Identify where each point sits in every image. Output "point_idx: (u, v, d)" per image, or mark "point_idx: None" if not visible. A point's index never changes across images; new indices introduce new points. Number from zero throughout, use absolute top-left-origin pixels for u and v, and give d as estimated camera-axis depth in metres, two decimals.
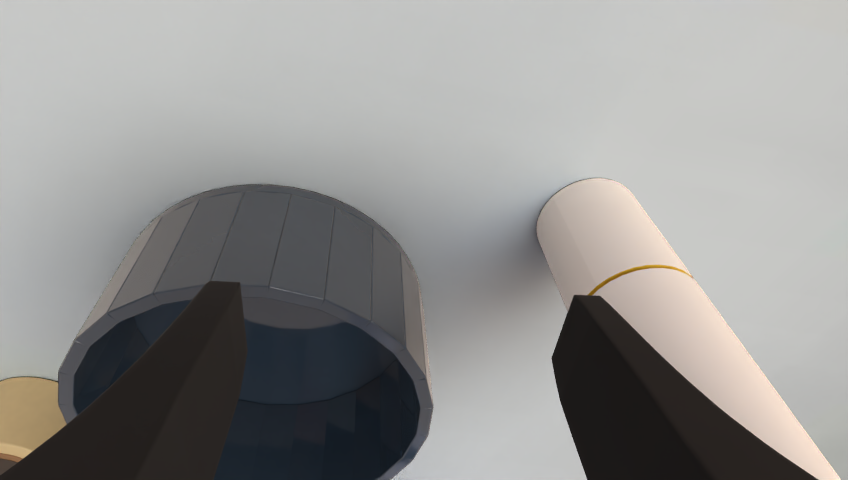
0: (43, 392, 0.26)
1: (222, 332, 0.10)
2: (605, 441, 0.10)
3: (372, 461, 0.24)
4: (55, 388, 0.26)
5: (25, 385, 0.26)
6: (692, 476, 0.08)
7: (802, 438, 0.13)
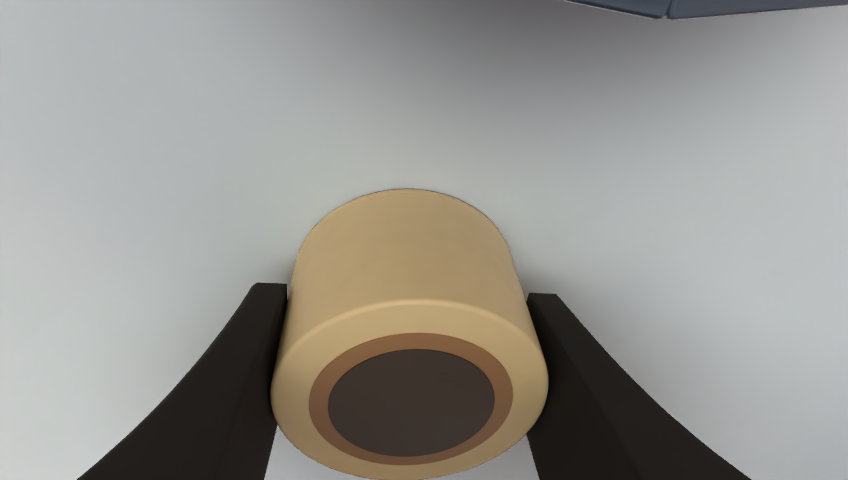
0: (349, 219, 0.11)
1: (274, 333, 0.10)
2: (554, 441, 0.10)
3: None
4: (365, 203, 0.11)
5: (317, 234, 0.12)
6: (626, 477, 0.08)
7: None
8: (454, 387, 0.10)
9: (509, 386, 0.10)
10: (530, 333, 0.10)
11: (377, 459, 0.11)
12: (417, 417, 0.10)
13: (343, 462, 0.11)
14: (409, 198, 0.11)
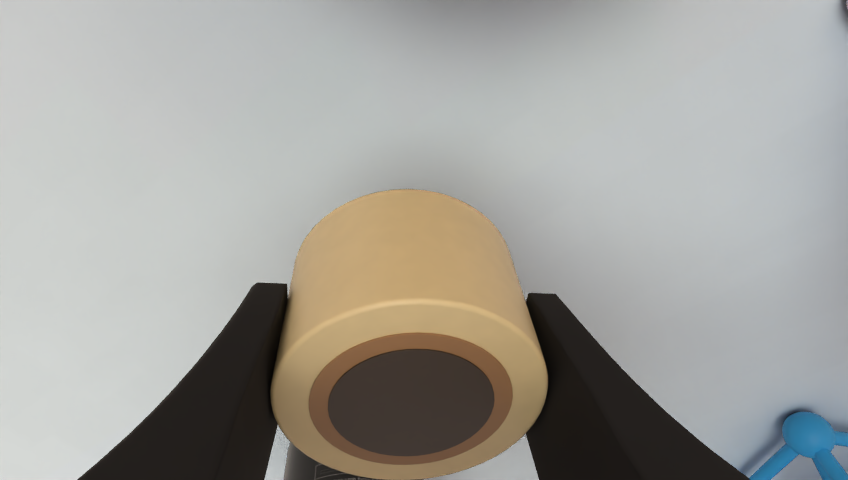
0: (348, 219, 0.11)
1: (274, 333, 0.10)
2: (554, 441, 0.10)
3: None
4: (365, 203, 0.11)
5: (317, 233, 0.12)
6: (626, 477, 0.08)
7: None
8: (453, 387, 0.10)
9: (509, 385, 0.10)
10: (530, 333, 0.10)
11: (377, 458, 0.11)
12: (417, 416, 0.10)
13: (343, 461, 0.11)
14: (409, 197, 0.11)
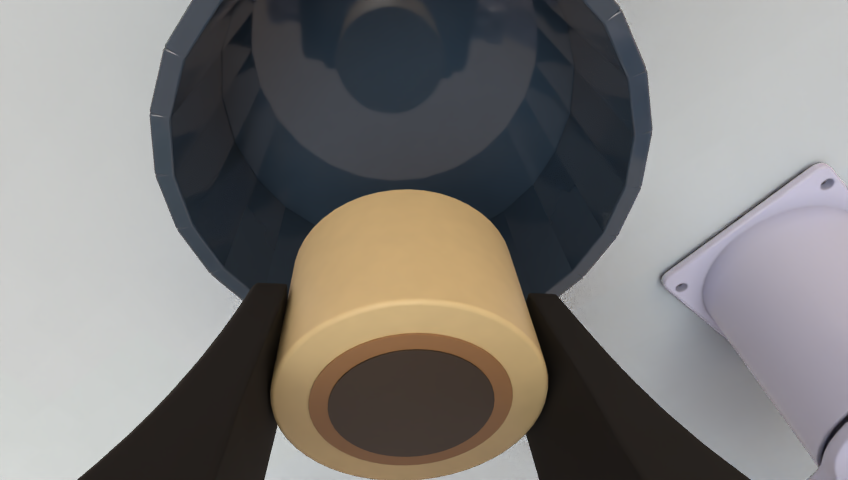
0: (348, 219, 0.11)
1: (274, 333, 0.10)
2: (554, 441, 0.10)
3: (619, 135, 0.15)
4: (364, 203, 0.11)
5: (317, 234, 0.12)
6: (626, 477, 0.08)
7: None
8: (453, 387, 0.10)
9: (508, 385, 0.10)
10: (530, 333, 0.10)
11: (377, 459, 0.11)
12: (417, 417, 0.10)
13: (343, 462, 0.11)
14: (408, 198, 0.11)
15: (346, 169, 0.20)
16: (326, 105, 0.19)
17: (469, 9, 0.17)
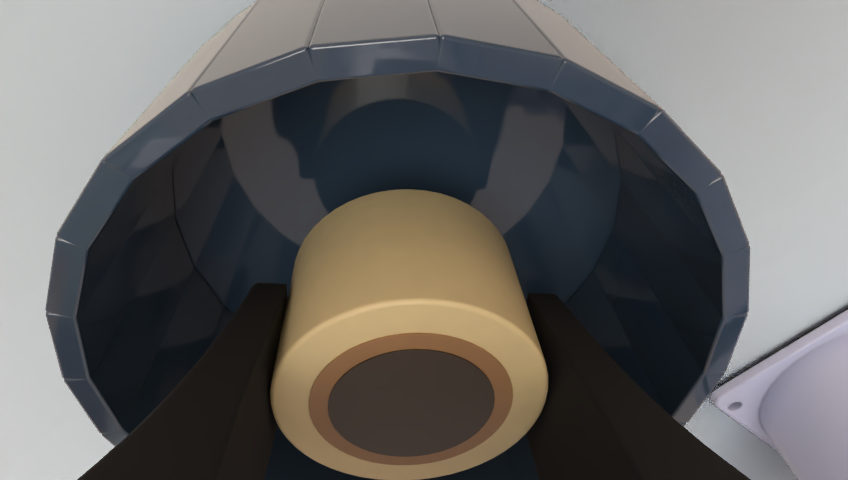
0: (348, 219, 0.11)
1: (274, 333, 0.10)
2: (554, 441, 0.10)
3: (695, 303, 0.11)
4: (364, 203, 0.11)
5: (317, 233, 0.12)
6: (626, 477, 0.08)
7: None
8: (453, 387, 0.10)
9: (509, 385, 0.10)
10: (530, 333, 0.10)
11: (377, 459, 0.11)
12: (417, 417, 0.10)
13: (343, 462, 0.11)
14: (409, 198, 0.11)
15: None
16: (308, 226, 0.15)
17: (490, 115, 0.13)
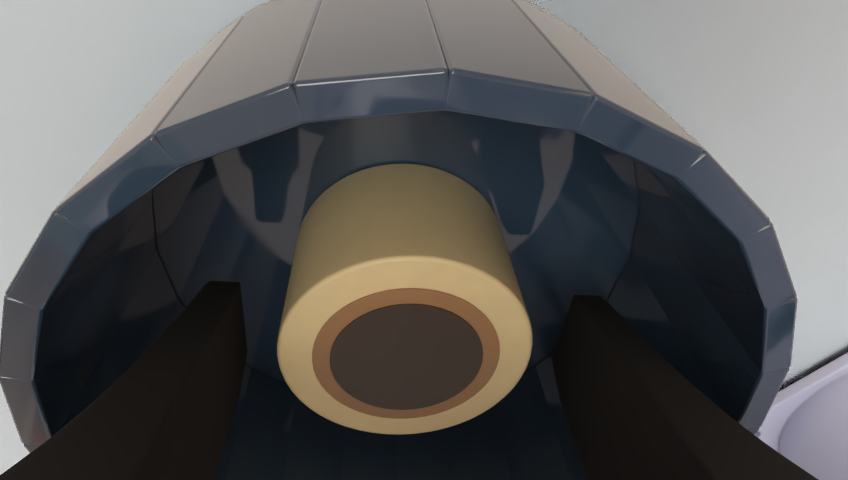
0: (348, 190, 0.12)
1: (222, 332, 0.10)
2: (605, 441, 0.10)
3: (727, 350, 0.10)
4: (363, 175, 0.12)
5: (319, 204, 0.12)
6: (693, 476, 0.08)
7: None
8: (445, 342, 0.11)
9: (496, 340, 0.11)
10: (515, 290, 0.11)
11: (375, 412, 0.12)
12: (412, 371, 0.11)
13: (344, 415, 0.12)
14: (405, 171, 0.12)
15: None
16: None
17: (498, 139, 0.12)
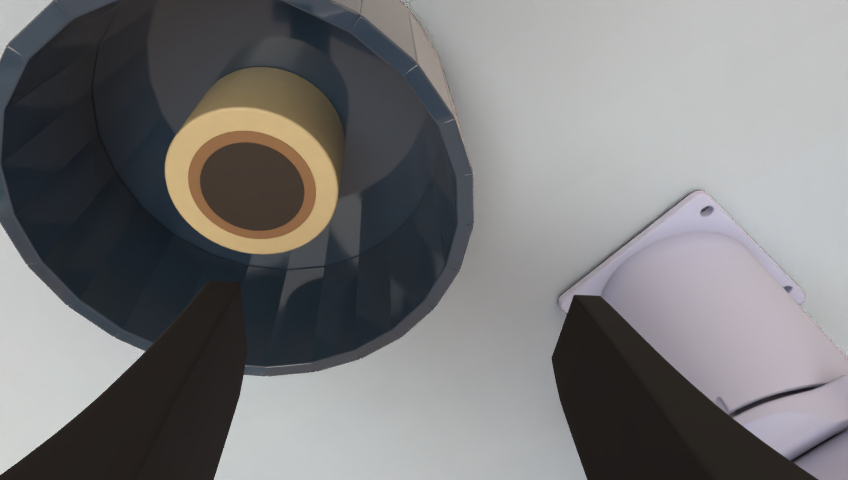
0: (222, 82, 0.18)
1: (222, 332, 0.10)
2: (605, 441, 0.10)
3: (452, 174, 0.16)
4: (234, 73, 0.18)
5: (205, 94, 0.18)
6: (693, 476, 0.08)
7: None
8: (276, 175, 0.17)
9: (310, 175, 0.17)
10: (318, 138, 0.16)
11: (239, 233, 0.18)
12: (258, 198, 0.17)
13: (218, 235, 0.18)
14: (261, 70, 0.18)
15: None
16: None
17: (327, 49, 0.18)
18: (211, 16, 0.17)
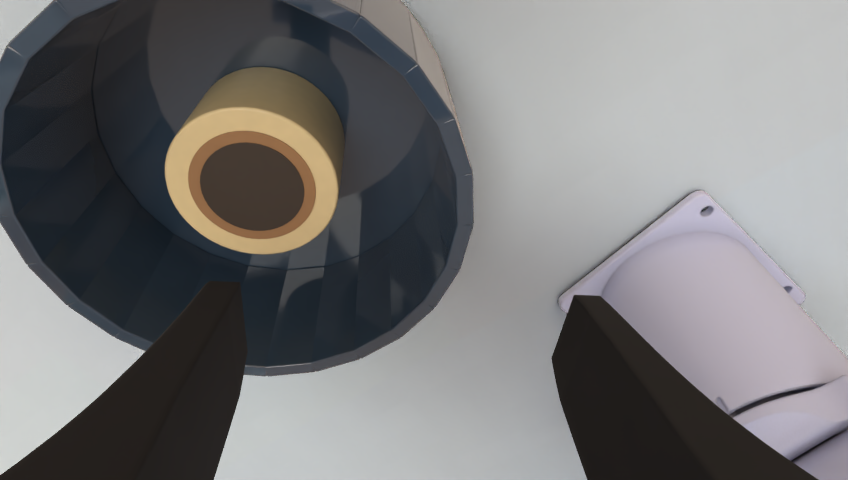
0: (222, 82, 0.18)
1: (222, 332, 0.10)
2: (605, 441, 0.10)
3: (452, 174, 0.16)
4: (234, 73, 0.18)
5: (205, 94, 0.18)
6: (693, 476, 0.08)
7: None
8: (276, 175, 0.17)
9: (310, 175, 0.17)
10: (318, 138, 0.16)
11: (239, 233, 0.18)
12: (258, 198, 0.17)
13: (218, 235, 0.18)
14: (261, 70, 0.18)
15: None
16: None
17: (327, 49, 0.18)
18: (211, 16, 0.17)
